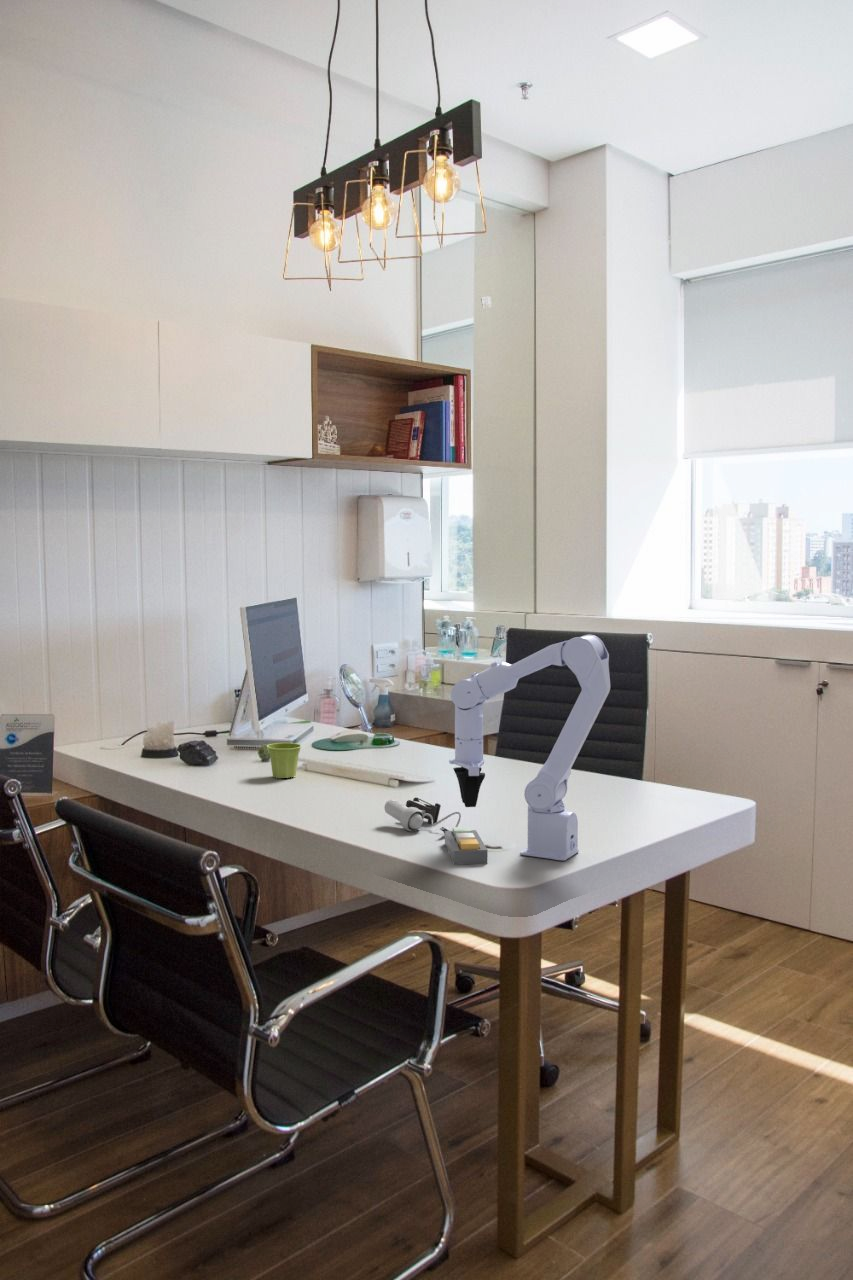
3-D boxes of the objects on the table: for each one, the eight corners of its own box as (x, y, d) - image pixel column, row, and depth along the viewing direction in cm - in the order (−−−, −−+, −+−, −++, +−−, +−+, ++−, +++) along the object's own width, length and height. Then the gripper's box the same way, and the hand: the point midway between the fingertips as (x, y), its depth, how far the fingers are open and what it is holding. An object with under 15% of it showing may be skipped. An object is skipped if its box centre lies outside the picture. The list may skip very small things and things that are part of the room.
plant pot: (306, 774, 289) (305, 743, 288) (296, 781, 280) (295, 748, 279) (273, 773, 290) (273, 742, 290) (262, 780, 281) (261, 747, 281)
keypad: (444, 843, 215) (444, 831, 215) (475, 842, 216) (475, 830, 216) (454, 864, 200) (454, 850, 200) (487, 863, 201) (487, 849, 201)
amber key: (459, 848, 204) (459, 839, 204) (476, 848, 205) (476, 839, 205) (461, 853, 201) (461, 844, 201) (478, 852, 201) (478, 843, 201)
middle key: (455, 842, 209) (455, 833, 209) (472, 841, 210) (472, 832, 210) (458, 846, 206) (457, 837, 206) (475, 846, 206) (475, 837, 206)
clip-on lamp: (470, 844, 226) (415, 812, 239) (476, 816, 225) (421, 785, 238) (430, 849, 218) (375, 816, 231) (437, 821, 217) (381, 788, 230)
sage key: (452, 835, 214) (452, 827, 214) (469, 835, 215) (469, 826, 215) (454, 840, 211) (454, 831, 211) (471, 839, 211) (471, 830, 211)
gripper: (445, 732, 219) (445, 797, 220) (453, 744, 205) (453, 813, 206) (478, 732, 220) (478, 796, 221) (489, 743, 205) (489, 812, 206)
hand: (469, 804), depth 213 cm, fingers open, 3 cm apart
